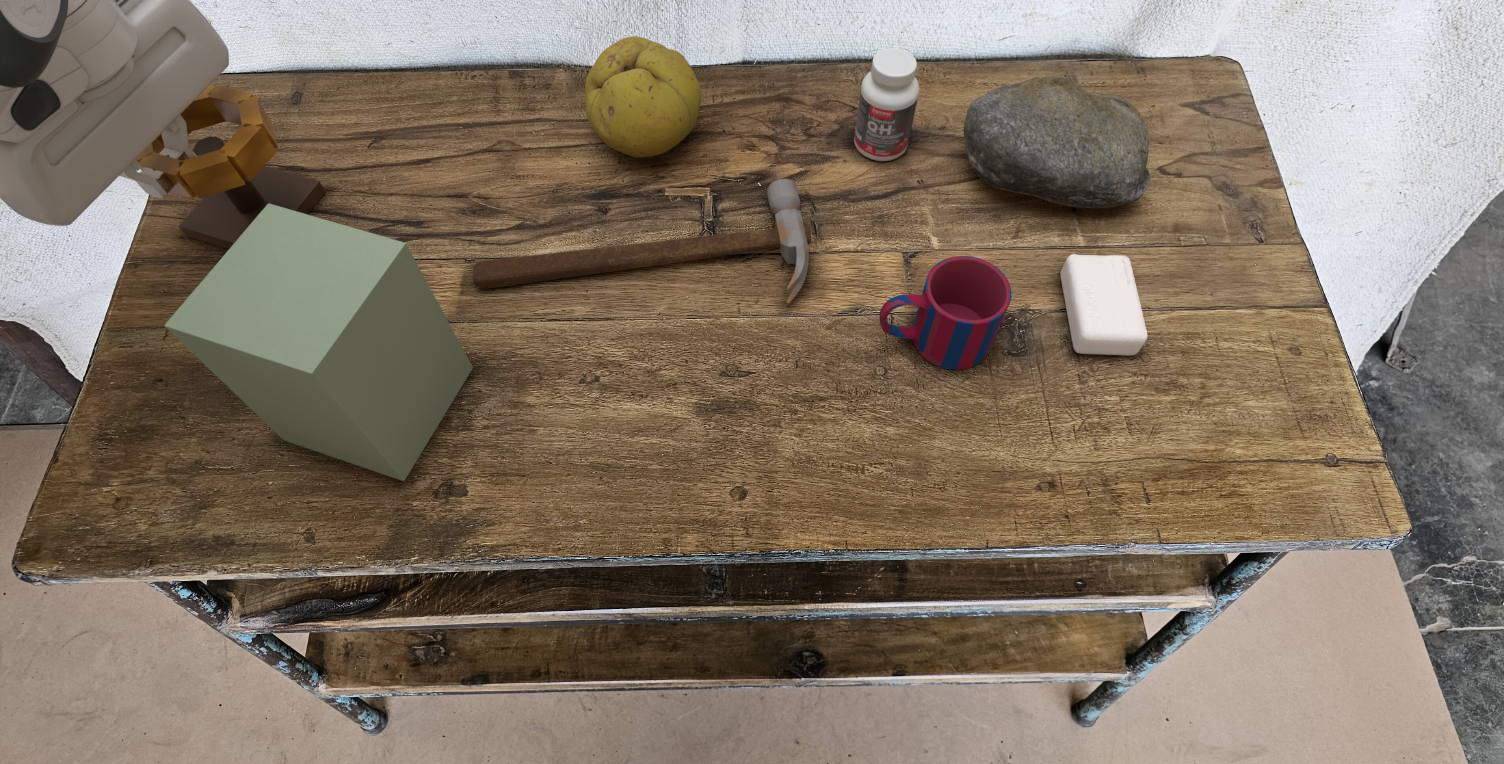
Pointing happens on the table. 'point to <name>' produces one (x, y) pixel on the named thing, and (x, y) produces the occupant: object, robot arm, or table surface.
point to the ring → (233, 159)
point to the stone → (1058, 143)
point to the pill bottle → (887, 105)
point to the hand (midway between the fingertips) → (173, 178)
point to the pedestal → (328, 339)
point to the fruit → (642, 97)
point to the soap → (1103, 305)
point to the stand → (246, 201)
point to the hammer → (666, 250)
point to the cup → (954, 312)
